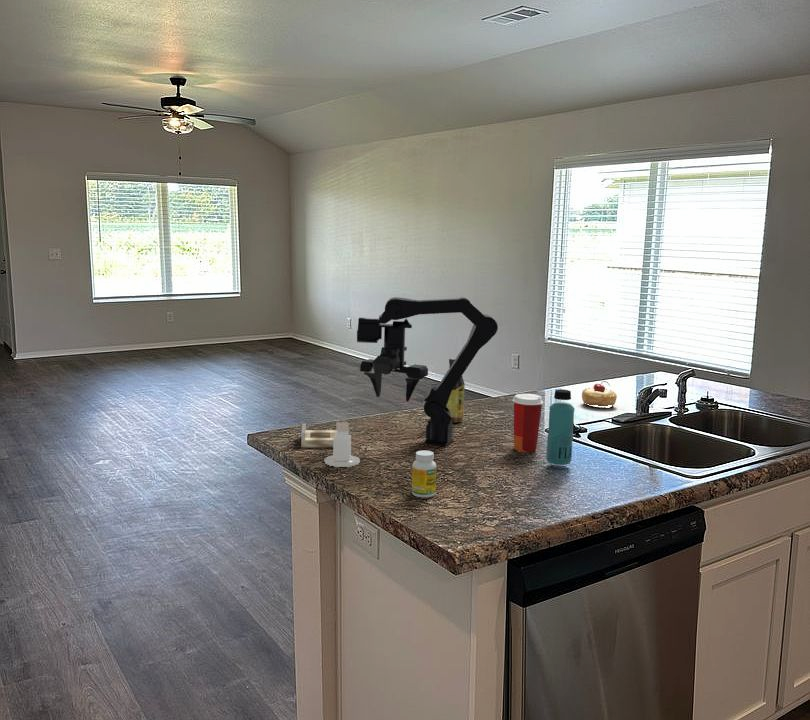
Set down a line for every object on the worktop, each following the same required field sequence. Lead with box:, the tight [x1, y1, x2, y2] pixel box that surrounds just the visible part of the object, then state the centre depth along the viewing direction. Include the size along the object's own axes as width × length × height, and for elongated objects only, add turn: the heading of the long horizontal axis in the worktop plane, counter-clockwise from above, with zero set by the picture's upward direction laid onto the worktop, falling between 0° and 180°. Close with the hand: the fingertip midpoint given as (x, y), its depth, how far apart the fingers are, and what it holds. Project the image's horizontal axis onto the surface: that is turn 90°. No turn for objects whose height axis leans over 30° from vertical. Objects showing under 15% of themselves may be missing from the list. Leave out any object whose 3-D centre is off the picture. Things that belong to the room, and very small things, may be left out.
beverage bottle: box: [545, 388, 575, 466], centre depth 185 cm, size 6×7×20 cm
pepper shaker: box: [332, 421, 352, 462], centre depth 184 cm, size 4×4×10 cm
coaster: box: [323, 454, 361, 468], centre depth 185 cm, size 9×9×1 cm
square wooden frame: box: [300, 423, 337, 448], centre depth 202 cm, size 10×10×4 cm
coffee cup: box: [511, 393, 544, 453], centre depth 200 cm, size 8×8×15 cm
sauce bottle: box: [446, 357, 466, 424], centre depth 228 cm, size 7×6×20 cm
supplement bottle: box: [411, 450, 437, 499], centre depth 164 cm, size 5×5×10 cm
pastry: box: [581, 380, 618, 406], centre depth 256 cm, size 12×12×9 cm
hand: (392, 399), depth 204 cm, fingers open, 9 cm apart
